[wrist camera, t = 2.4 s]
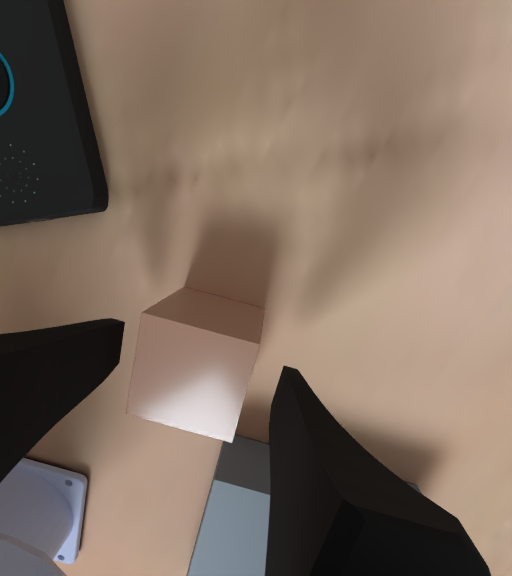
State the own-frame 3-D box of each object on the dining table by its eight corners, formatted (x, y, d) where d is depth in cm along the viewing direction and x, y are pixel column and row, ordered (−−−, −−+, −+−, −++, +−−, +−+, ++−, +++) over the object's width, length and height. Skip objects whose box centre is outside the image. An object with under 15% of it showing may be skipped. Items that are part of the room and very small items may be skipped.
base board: (188, 566, 18) (172, 631, 15) (225, 432, 15) (214, 479, 12) (350, 612, 18) (365, 687, 15) (417, 485, 15) (451, 545, 12)
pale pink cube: (170, 359, 15) (125, 413, 10) (184, 286, 14) (141, 312, 9) (244, 379, 15) (231, 442, 10) (264, 308, 14) (259, 344, 9)
